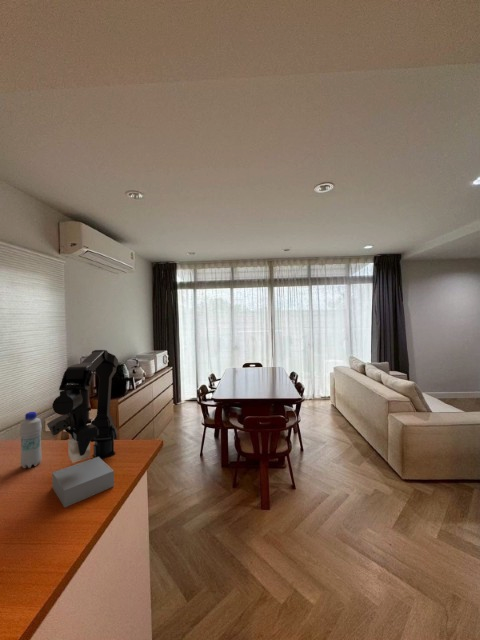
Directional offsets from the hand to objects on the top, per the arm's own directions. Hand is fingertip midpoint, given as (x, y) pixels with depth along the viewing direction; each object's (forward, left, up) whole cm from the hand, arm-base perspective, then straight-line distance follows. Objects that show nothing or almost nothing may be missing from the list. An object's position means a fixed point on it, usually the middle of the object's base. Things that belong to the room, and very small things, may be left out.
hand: (79, 452), depth 89 cm
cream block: (0, 0, -2) cm, 2 cm away
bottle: (+8, -29, -11) cm, 32 cm away
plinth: (-1, +1, -11) cm, 11 cm away
